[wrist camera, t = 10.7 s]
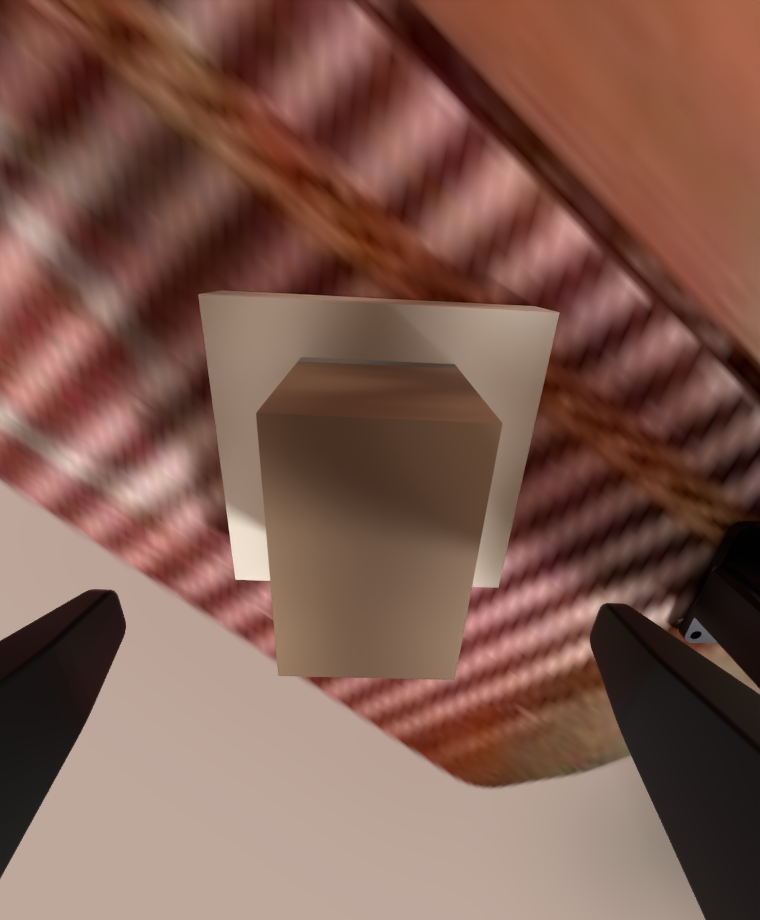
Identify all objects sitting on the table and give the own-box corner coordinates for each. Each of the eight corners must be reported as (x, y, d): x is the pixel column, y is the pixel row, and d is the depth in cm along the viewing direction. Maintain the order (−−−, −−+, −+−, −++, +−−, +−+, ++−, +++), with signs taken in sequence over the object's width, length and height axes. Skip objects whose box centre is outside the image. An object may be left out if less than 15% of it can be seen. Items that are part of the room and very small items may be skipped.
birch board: (534, 306, 13) (559, 312, 11) (485, 554, 18) (498, 587, 16) (222, 290, 13) (197, 294, 11) (250, 546, 17) (235, 580, 15)
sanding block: (454, 364, 12) (502, 423, 8) (430, 555, 15) (454, 679, 11) (301, 357, 12) (255, 412, 7) (307, 551, 15) (278, 675, 10)
